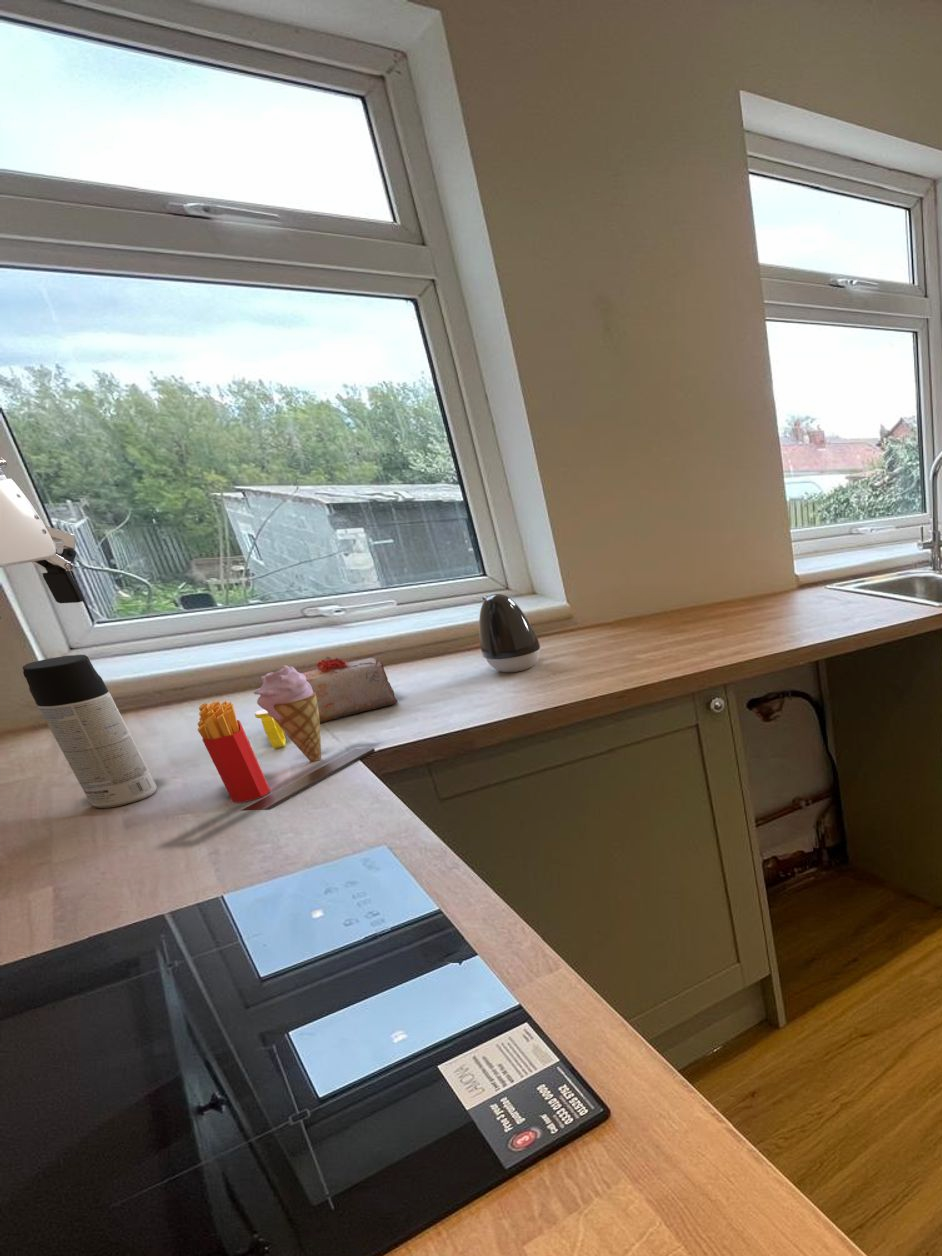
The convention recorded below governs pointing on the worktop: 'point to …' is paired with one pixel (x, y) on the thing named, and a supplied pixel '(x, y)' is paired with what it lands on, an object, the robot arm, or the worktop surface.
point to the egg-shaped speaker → (506, 635)
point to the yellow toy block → (271, 729)
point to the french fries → (231, 752)
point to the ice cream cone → (293, 708)
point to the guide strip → (309, 780)
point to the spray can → (89, 730)
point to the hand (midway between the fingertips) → (30, 611)
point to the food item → (349, 687)
